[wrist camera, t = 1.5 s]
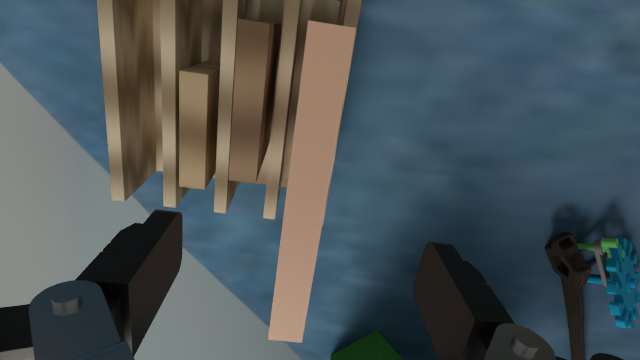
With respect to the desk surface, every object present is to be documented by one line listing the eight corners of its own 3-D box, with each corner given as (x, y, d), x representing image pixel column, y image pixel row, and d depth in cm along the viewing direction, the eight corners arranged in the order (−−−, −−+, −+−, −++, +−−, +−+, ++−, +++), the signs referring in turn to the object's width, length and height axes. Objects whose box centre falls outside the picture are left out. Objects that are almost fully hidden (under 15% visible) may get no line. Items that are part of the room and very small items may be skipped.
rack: (140, -32, 32) (85, -49, 24) (355, 4, 33) (369, -1, 25) (147, 163, 39) (105, 199, 31) (324, 186, 40) (328, 225, 32)
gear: (651, 291, 45) (637, 351, 39) (592, 284, 50) (572, 337, 44) (632, 212, 42) (614, 264, 37) (572, 213, 47) (548, 259, 41)
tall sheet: (309, 21, 32) (308, 20, 12) (327, 24, 32) (356, 28, 12) (290, 169, 38) (268, 339, 18) (306, 171, 38) (301, 342, 18)
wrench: (537, 384, 56) (516, 232, 43) (569, 373, 56) (559, 217, 43) (560, 419, 52) (546, 261, 38) (596, 408, 51) (594, 244, 38)
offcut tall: (258, 19, 32) (237, 18, 23) (281, 23, 32) (269, 23, 23) (249, 140, 36) (228, 180, 27) (269, 143, 37) (255, 183, 27)
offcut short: (208, 60, 33) (179, 70, 26) (230, 63, 34) (208, 74, 26) (205, 153, 37) (179, 186, 30) (225, 156, 37) (204, 189, 30)
